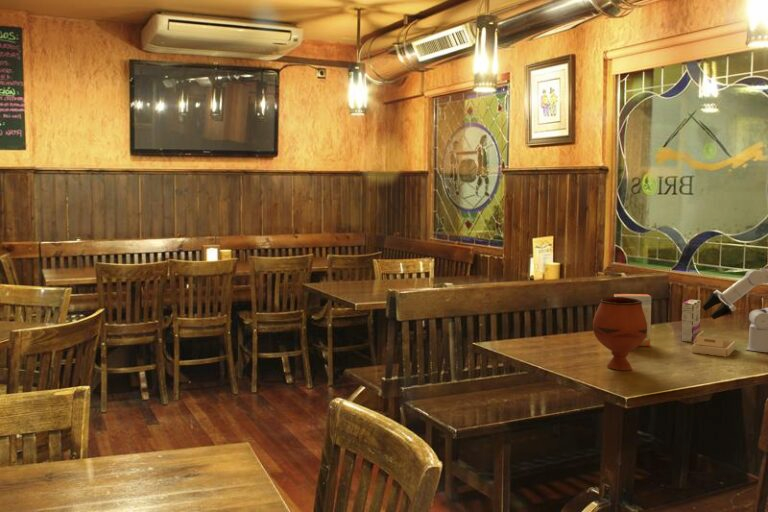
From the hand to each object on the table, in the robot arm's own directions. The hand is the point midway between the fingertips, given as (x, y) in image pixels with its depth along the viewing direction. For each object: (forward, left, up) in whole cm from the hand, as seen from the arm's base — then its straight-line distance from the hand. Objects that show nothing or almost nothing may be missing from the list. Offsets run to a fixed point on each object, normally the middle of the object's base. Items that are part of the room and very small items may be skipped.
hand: (707, 313), depth 309 cm
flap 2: (-4, +12, -9) cm, 16 cm away
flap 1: (+2, +5, -9) cm, 10 cm away
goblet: (+20, +52, -14) cm, 57 cm away
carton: (-4, +5, -14) cm, 15 cm away
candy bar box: (+9, -12, -14) cm, 21 cm away
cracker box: (+27, +12, -14) cm, 33 cm away
